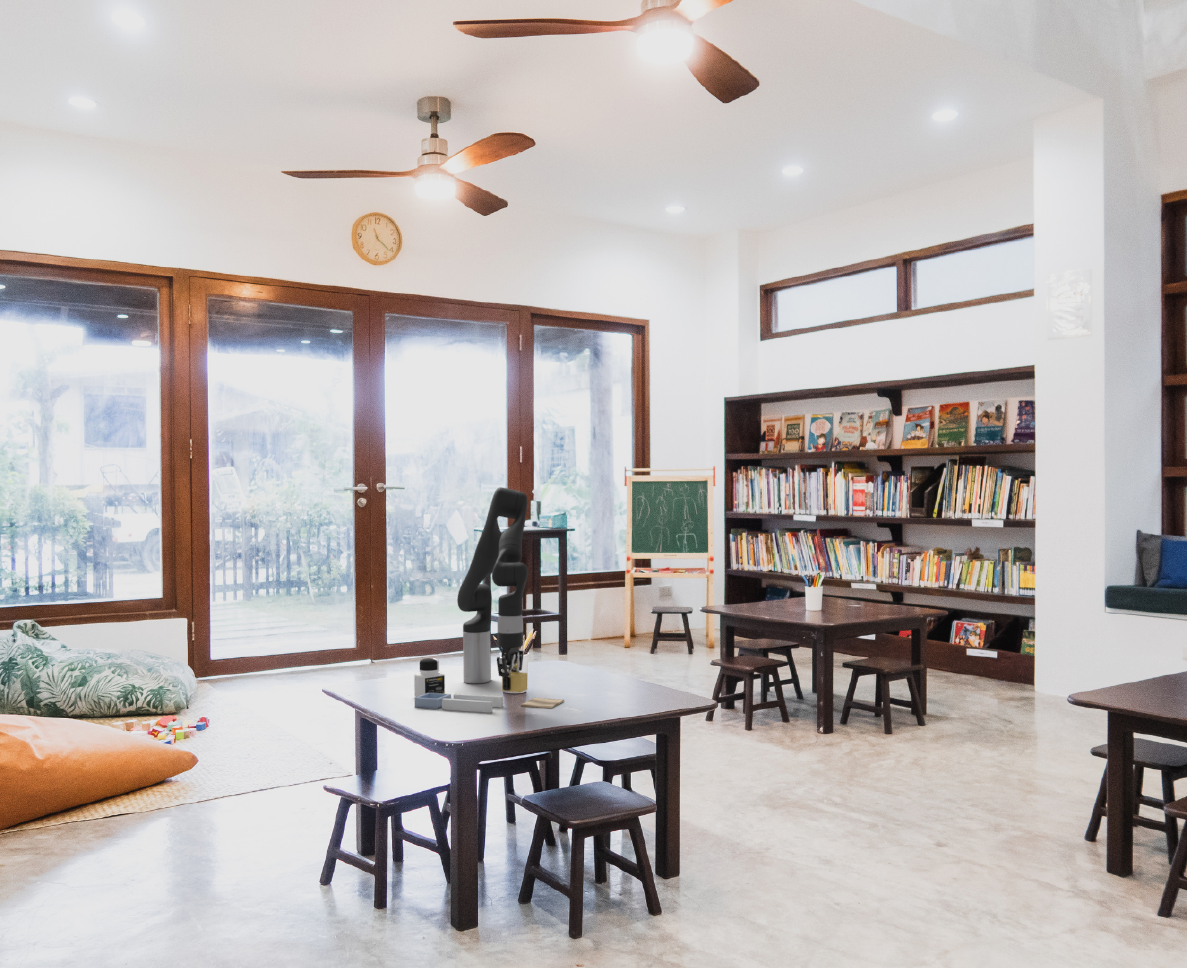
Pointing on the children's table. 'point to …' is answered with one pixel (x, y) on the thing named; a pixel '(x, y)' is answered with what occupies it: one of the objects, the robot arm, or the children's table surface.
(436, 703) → the bin
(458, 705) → the frosted channel
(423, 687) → the medicine bottle
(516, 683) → the ochre block
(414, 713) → the children's table surface
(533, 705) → the cork pad
